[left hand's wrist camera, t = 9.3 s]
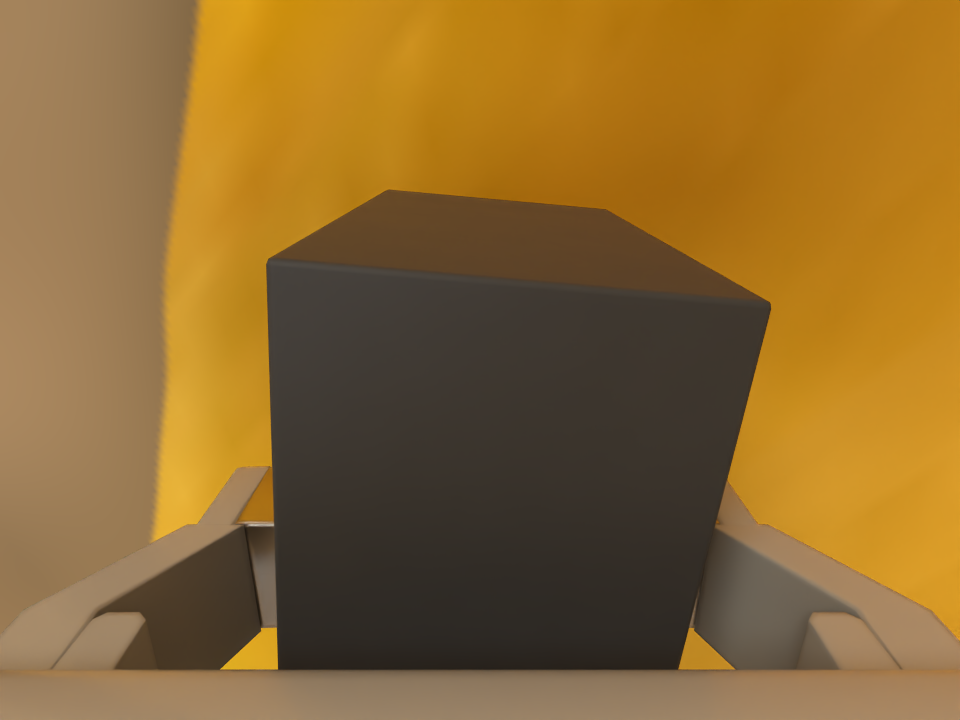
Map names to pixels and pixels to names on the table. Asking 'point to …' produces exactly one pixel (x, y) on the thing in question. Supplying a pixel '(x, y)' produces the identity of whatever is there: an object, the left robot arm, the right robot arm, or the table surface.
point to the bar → (497, 436)
